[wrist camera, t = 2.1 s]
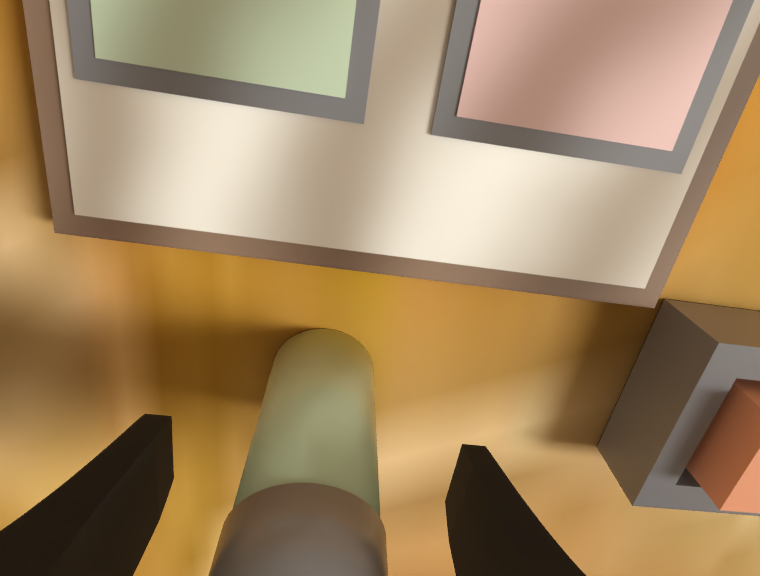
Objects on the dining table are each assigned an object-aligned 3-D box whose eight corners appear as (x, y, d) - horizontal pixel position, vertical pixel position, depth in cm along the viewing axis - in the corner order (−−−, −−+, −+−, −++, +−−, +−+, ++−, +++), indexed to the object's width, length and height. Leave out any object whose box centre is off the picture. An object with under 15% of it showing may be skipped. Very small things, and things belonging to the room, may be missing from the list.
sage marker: (266, 408, 16) (192, 697, 9) (272, 319, 15) (189, 577, 7) (368, 418, 16) (375, 703, 9) (384, 332, 15) (408, 590, 8)
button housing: (596, 447, 17) (632, 505, 15) (664, 299, 15) (719, 342, 13) (749, 461, 18) (805, 519, 16) (839, 321, 15) (921, 367, 13)
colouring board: (71, 223, 13) (48, 235, 12) (-14, -471, 8) (-64, -542, 7) (639, 295, 15) (659, 312, 14) (870, -240, 10) (925, -272, 9)
